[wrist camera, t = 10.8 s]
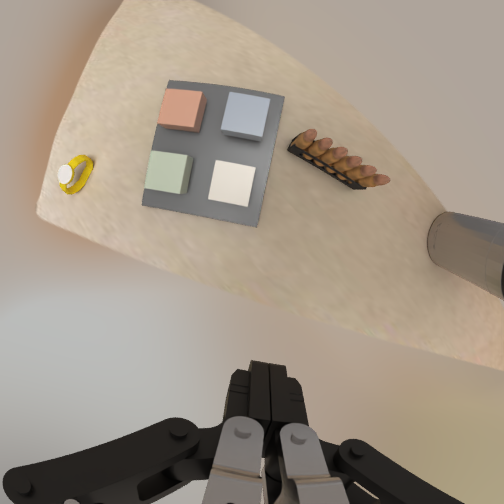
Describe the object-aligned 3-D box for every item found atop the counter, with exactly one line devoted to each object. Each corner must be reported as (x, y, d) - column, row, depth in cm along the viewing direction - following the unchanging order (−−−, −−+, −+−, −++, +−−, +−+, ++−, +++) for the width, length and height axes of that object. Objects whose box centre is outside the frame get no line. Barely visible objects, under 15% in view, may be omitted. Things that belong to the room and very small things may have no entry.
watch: (89, 154, 36) (69, 149, 30) (101, 163, 37) (81, 158, 31) (71, 188, 37) (49, 187, 31) (82, 197, 37) (61, 197, 31)
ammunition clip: (286, 150, 36) (301, 134, 24) (293, 138, 36) (310, 118, 24) (353, 189, 37) (392, 192, 25) (359, 178, 37) (400, 177, 25)
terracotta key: (207, 99, 33) (202, 91, 29) (199, 132, 34) (193, 127, 30) (173, 96, 32) (166, 88, 29) (165, 128, 33) (157, 123, 30)
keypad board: (283, 99, 34) (286, 90, 31) (256, 226, 38) (257, 230, 35) (171, 83, 34) (163, 73, 30) (144, 204, 38) (133, 206, 34)
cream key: (255, 169, 35) (255, 167, 31) (248, 204, 36) (247, 206, 32) (219, 162, 34) (215, 159, 31) (212, 197, 35) (207, 199, 32)
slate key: (268, 107, 32) (270, 98, 28) (261, 141, 33) (262, 136, 29) (231, 100, 31) (229, 91, 28) (223, 134, 32) (220, 129, 29)
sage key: (193, 158, 34) (187, 155, 31) (186, 193, 35) (179, 193, 32) (160, 153, 34) (151, 150, 31) (153, 187, 35) (144, 188, 32)
